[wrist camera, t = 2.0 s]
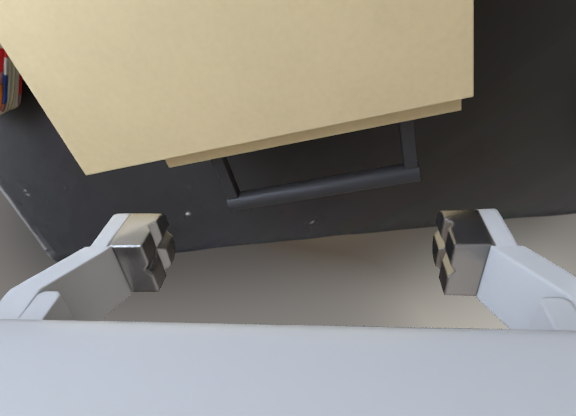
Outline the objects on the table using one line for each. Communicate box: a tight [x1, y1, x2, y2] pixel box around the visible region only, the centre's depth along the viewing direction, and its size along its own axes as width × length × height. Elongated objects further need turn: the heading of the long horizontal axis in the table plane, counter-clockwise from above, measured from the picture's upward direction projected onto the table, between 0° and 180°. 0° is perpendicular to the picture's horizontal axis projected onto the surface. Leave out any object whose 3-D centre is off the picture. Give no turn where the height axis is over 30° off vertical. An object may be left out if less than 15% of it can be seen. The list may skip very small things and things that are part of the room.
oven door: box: [165, 99, 461, 212], centre depth 36 cm, size 22×7×15 cm, turn 105°
